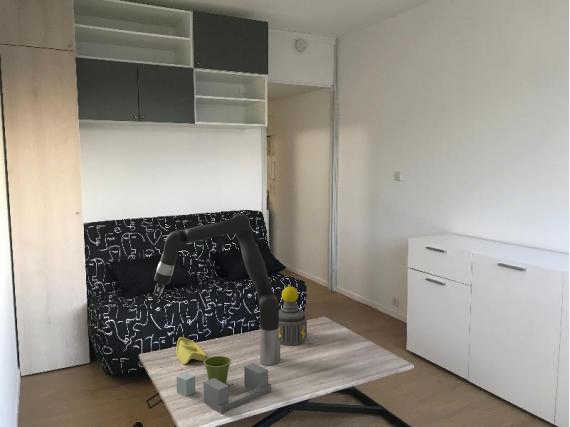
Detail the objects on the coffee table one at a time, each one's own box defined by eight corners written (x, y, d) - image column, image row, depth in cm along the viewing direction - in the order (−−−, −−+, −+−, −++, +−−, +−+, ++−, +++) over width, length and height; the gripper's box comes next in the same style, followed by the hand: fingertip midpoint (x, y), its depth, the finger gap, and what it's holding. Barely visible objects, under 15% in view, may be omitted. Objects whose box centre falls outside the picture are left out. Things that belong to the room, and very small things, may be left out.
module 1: (185, 387, 204) (185, 372, 204) (195, 391, 201) (195, 375, 200) (176, 392, 200) (176, 376, 200) (186, 396, 197) (186, 380, 196)
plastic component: (208, 356, 232) (190, 351, 227) (201, 370, 232) (184, 365, 227) (193, 340, 249) (177, 336, 244) (188, 353, 249) (171, 349, 243)
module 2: (214, 398, 194) (213, 377, 193) (228, 407, 187) (228, 385, 186) (203, 402, 191) (203, 381, 190) (218, 412, 184) (218, 390, 183)
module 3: (253, 382, 209) (252, 362, 208) (268, 390, 201) (268, 369, 201) (244, 386, 205) (244, 366, 204) (259, 394, 198) (259, 373, 197)
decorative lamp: (314, 339, 261) (314, 286, 258) (292, 349, 247) (291, 293, 244) (288, 331, 273) (288, 280, 270) (266, 340, 259) (265, 287, 256)
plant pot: (231, 391, 200) (230, 366, 199) (203, 392, 200) (202, 367, 198) (232, 379, 212) (231, 355, 211) (205, 380, 211) (204, 356, 210)
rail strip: (267, 389, 202) (267, 383, 201) (271, 391, 200) (271, 384, 200) (218, 411, 184) (217, 404, 184) (221, 414, 182) (221, 406, 182)
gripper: (170, 278, 216) (160, 311, 217) (173, 270, 230) (164, 301, 231) (154, 273, 214) (144, 306, 215) (158, 266, 228) (148, 297, 229)
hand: (154, 304), depth 223 cm, fingers open, 8 cm apart
